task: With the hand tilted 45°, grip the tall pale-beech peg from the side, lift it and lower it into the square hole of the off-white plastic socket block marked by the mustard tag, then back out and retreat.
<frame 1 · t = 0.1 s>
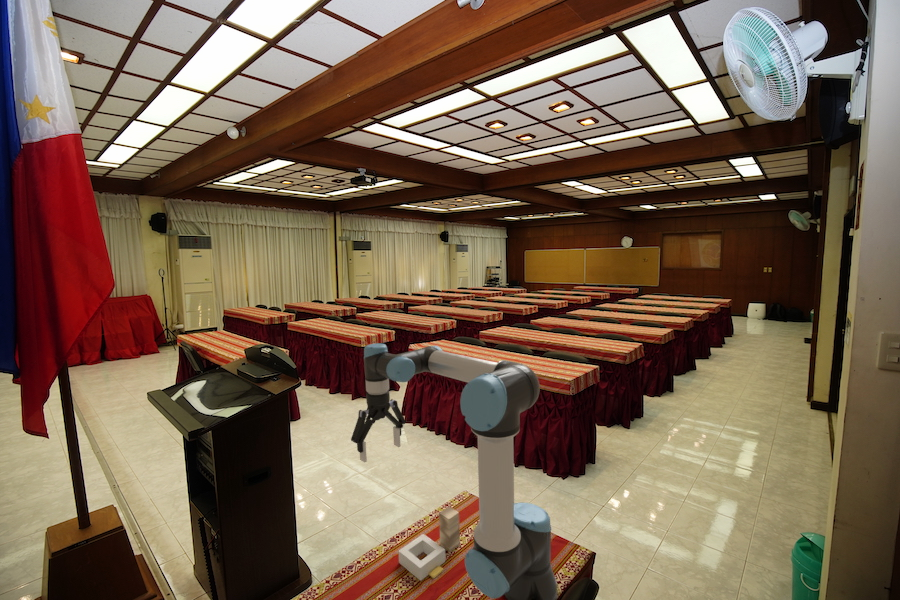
hand: (380, 452, 133), 28 cm above the table, fingers open, 13 cm apart
beech peg: (449, 544, 128), on the table
socket block: (422, 562, 121), on the table
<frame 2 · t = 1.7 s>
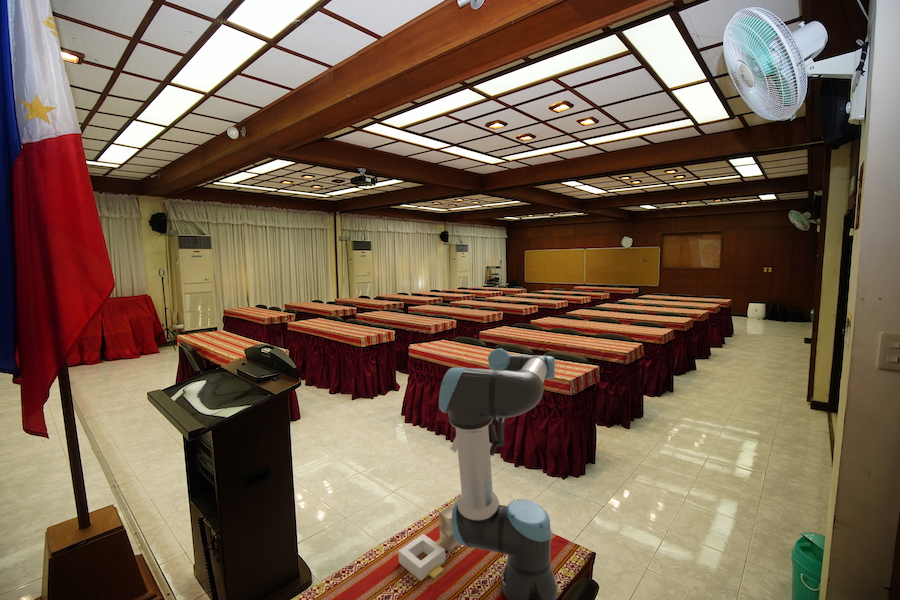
hand: (468, 456, 133), 26 cm above the table, fingers open, 13 cm apart
nothing on the table moved.
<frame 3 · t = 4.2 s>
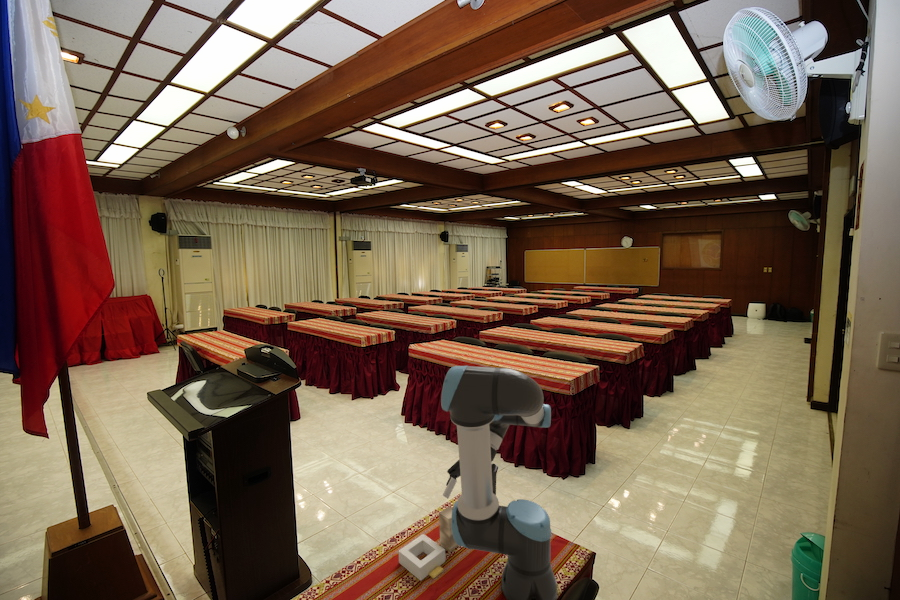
hand: (459, 505, 132), 10 cm above the table, fingers open, 13 cm apart
nothing on the table moved.
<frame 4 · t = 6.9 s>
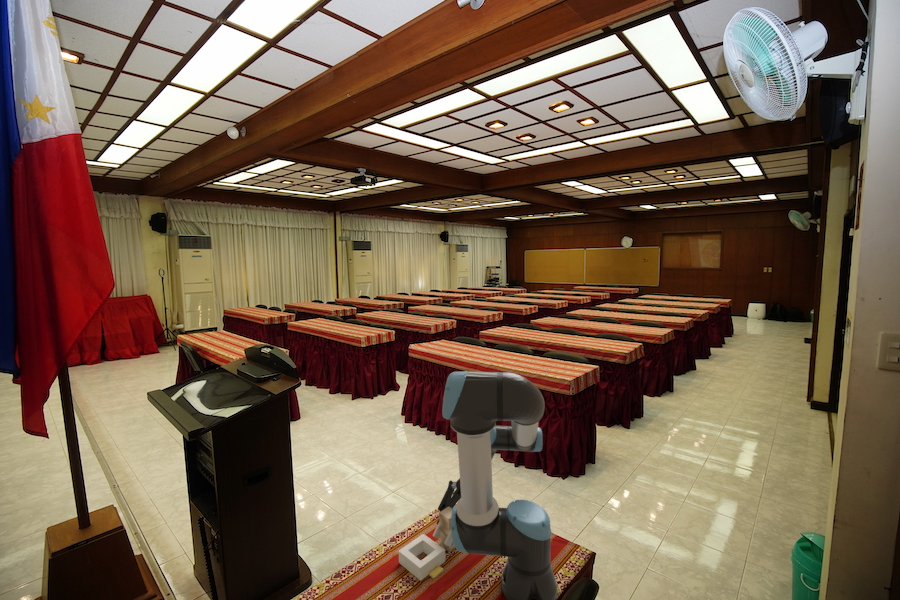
hand: (441, 541, 125), 3 cm above the table, fingers closed on beech peg, 4 cm apart
beech peg: (449, 544, 128), on the table, touching gripper
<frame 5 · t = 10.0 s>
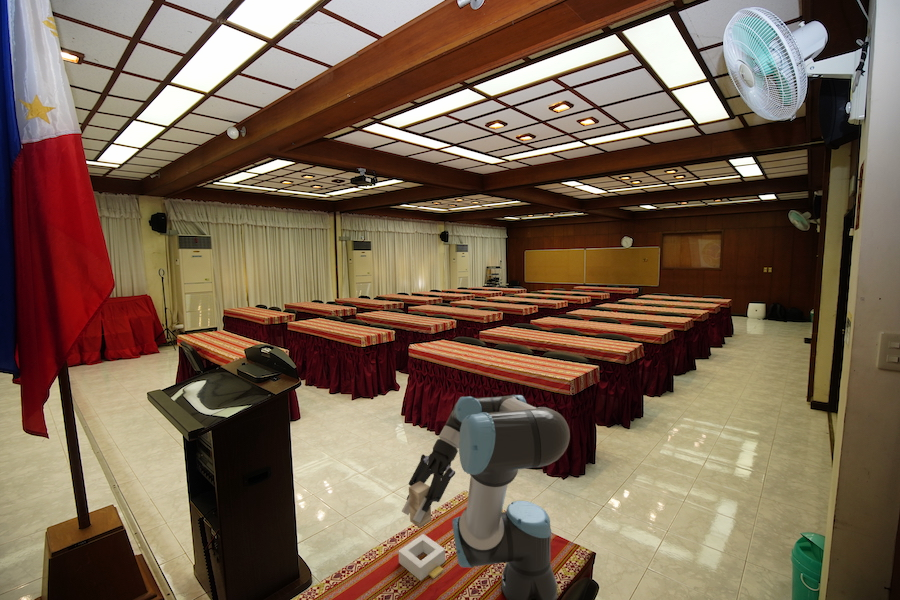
hand: (410, 517, 117), 16 cm above the table, fingers closed on beech peg, 4 cm apart
beech peg: (420, 521, 121), point 13 cm above the table, touching gripper
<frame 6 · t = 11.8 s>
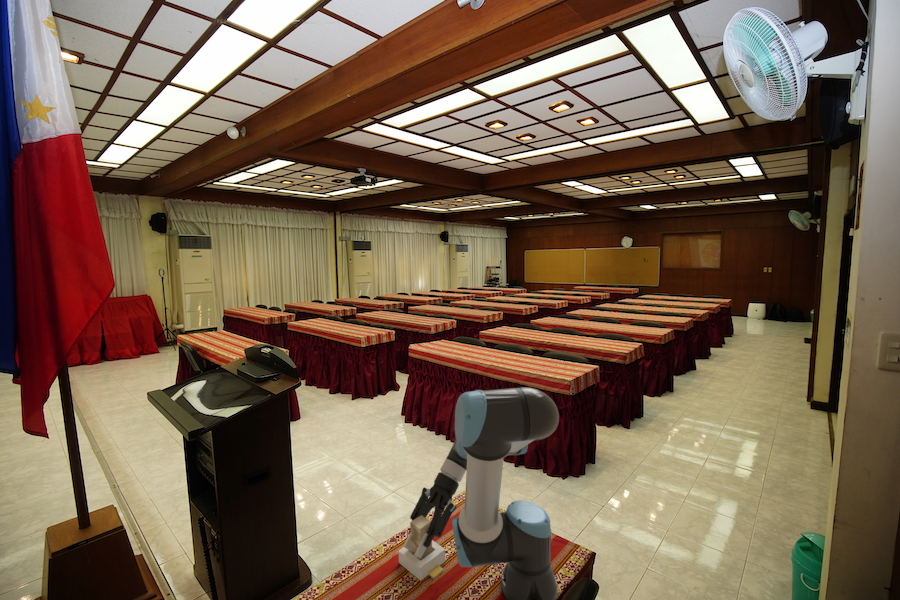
hand: (411, 552, 118), 5 cm above the table, fingers closed on beech peg, 4 cm apart
beech peg: (421, 555, 122), point 2 cm above the table, touching gripper
when the fingers open (5 cm above the table, at t = 13.5 s): beech peg stays where it is, resting in socket block.
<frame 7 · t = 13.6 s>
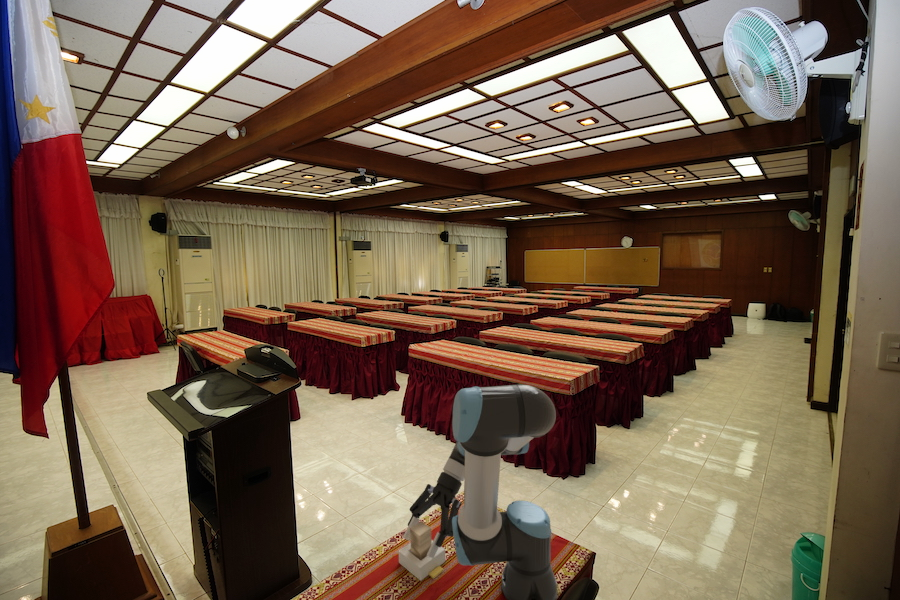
hand: (417, 547, 120), 6 cm above the table, fingers open, 10 cm apart
beech peg: (422, 561, 122), resting in socket block
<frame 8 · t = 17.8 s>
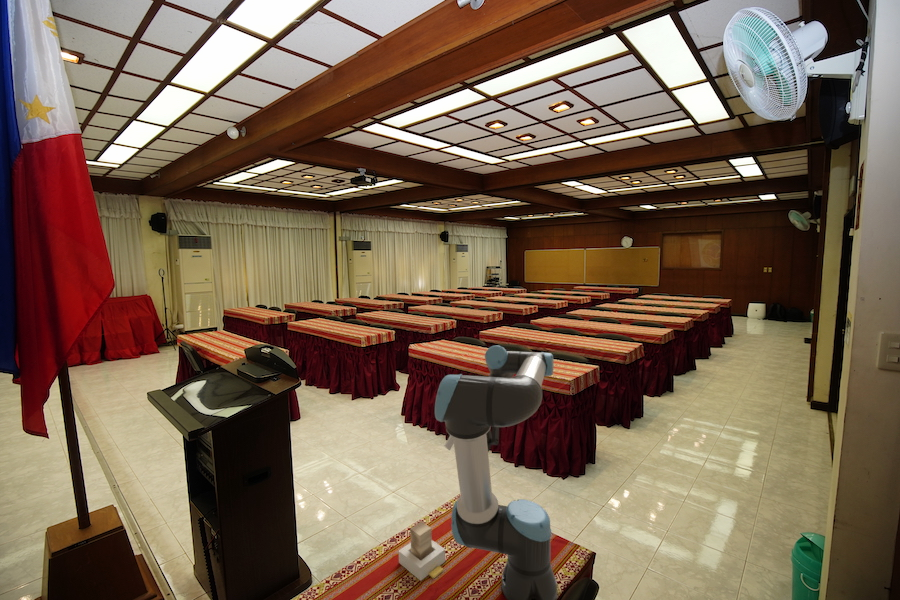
hand: (461, 455, 130), 28 cm above the table, fingers open, 13 cm apart
nothing on the table moved.
at the end: beech peg 0.1 cm off-centre on the socket block, point 0.0 cm above the socket block's base; beech peg tilted 0°; the gripper is holding nothing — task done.
